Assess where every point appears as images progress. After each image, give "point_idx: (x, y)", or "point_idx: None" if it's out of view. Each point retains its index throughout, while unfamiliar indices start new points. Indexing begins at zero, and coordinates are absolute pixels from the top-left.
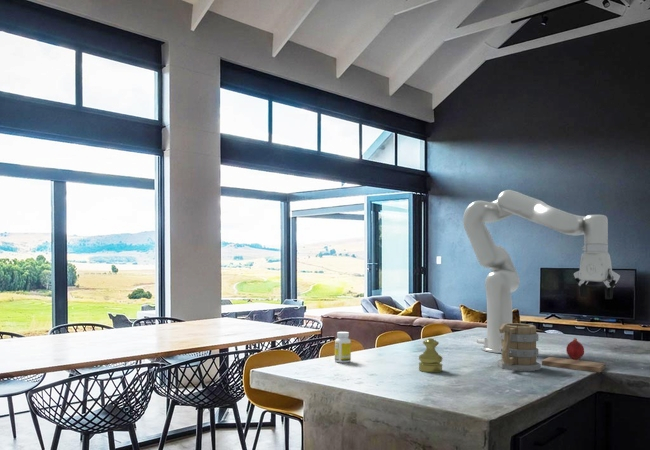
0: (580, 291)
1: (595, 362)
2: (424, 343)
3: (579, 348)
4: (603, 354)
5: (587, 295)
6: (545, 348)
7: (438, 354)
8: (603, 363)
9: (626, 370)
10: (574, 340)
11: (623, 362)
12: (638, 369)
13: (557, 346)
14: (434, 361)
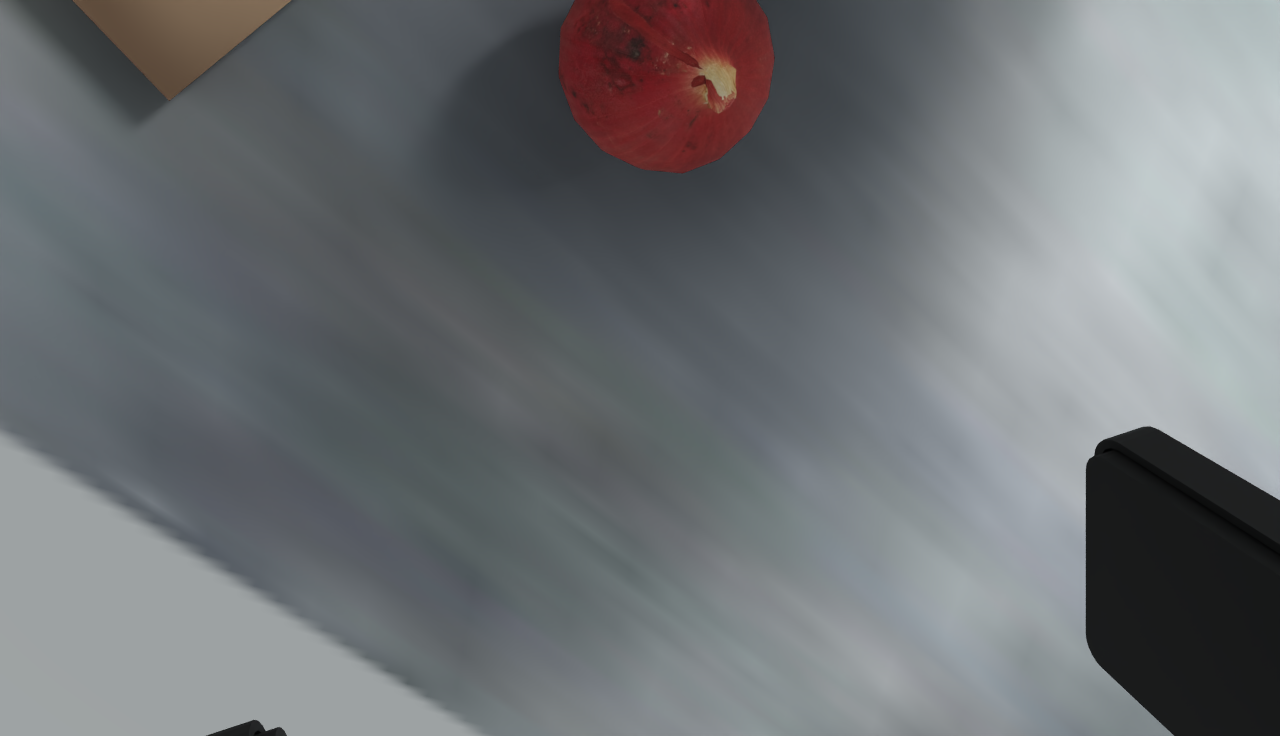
0: (1265, 500)
1: (238, 6)
2: None
3: (579, 47)
4: (852, 596)
5: (1108, 672)
6: (1255, 255)
7: None
8: (160, 61)
9: (13, 236)
10: (698, 52)
11: (467, 520)
12: (75, 416)
13: (1274, 443)
14: None
